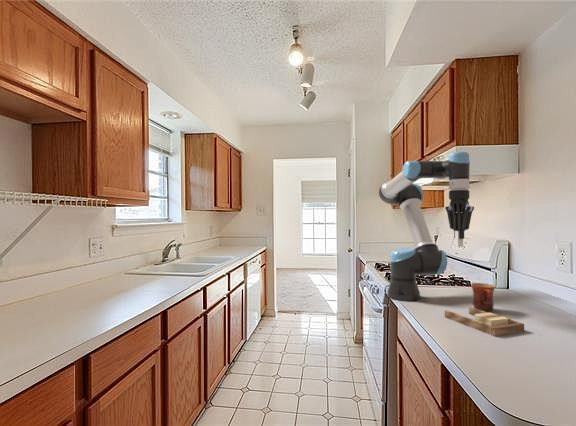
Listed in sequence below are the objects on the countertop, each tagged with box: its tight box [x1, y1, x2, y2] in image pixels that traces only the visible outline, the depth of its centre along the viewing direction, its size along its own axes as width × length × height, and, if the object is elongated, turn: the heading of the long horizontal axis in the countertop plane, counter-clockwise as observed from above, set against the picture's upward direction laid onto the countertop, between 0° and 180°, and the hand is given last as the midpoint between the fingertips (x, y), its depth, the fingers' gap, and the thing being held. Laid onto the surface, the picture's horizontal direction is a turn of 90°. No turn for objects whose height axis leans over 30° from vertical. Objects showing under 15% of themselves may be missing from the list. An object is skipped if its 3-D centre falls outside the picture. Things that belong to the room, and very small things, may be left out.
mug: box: [470, 282, 496, 312], centre depth 132 cm, size 12×9×10 cm
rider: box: [474, 312, 508, 327], centre depth 113 cm, size 7×7×4 cm
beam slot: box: [444, 306, 525, 337], centre depth 116 cm, size 21×14×3 cm, turn 18°
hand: (459, 246), depth 132 cm, fingers closed
